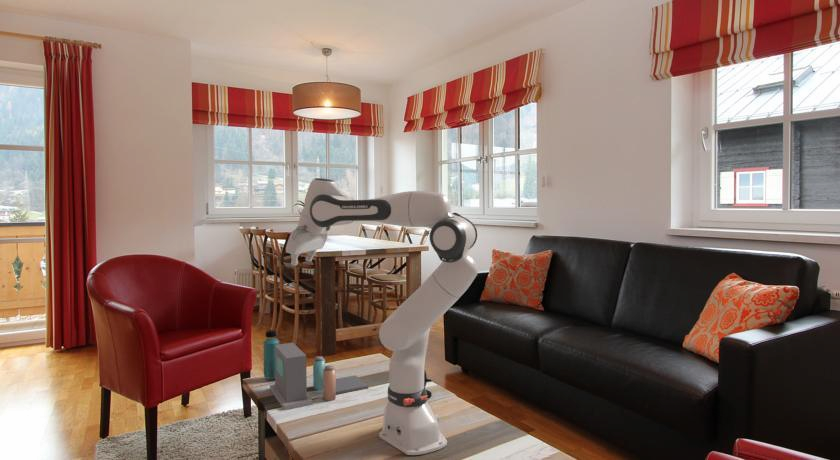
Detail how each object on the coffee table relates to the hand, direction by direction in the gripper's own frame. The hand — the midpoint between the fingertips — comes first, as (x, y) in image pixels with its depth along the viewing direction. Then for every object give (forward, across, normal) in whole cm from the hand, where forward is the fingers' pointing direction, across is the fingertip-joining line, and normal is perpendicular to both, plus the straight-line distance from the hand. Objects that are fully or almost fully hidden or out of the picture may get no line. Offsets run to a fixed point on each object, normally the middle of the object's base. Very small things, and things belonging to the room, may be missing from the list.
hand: (301, 263), depth 168 cm
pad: (+48, +25, -20) cm, 58 cm away
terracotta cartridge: (+48, +12, -20) cm, 53 cm away
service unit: (+53, +9, -6) cm, 54 cm away
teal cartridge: (+51, +20, -12) cm, 56 cm away
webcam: (+39, +24, -50) cm, 68 cm away
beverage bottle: (+58, +22, +10) cm, 63 cm away
